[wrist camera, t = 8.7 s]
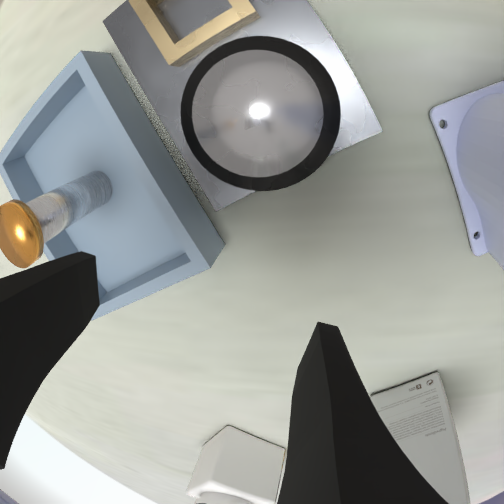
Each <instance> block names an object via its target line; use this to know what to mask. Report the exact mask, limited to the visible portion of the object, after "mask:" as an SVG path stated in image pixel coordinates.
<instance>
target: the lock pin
mask: <svg viewBox="0 0 504 504" xmlns="http://www.w3.org/2000/svg"><path fill="white" fill-rule="evenodd" d="M112 193H113V188H112V184H111V181H110V179H109V178H108V176H107V175H106V174H104V173H103V172H101V171H93V172H90V173H88V174H86V175H84V176H81V177H79V178H77V179H75V180H72V181H70V182H68V183H66V184H64V185H62V186H60V187H57V188H55V189H53V190H51V191H49V192H47V193H45V194H43V195H41V196H39V197H37V198H35V199H33V200H31V201H29V202H27V203H24V202H22V201H20V200H17V199H14V200H11V201H9V202H7V203H5V204H3V205H1V206H0V248H1V250H2V252H3V253H4V255H5V256H6V257H7V259H8V260H9V261H10V262H11V263H13V264H14V265H15V266H17V267H20V268H27V267H28V266H30V265H31V264H32V263H34V262H35V261H36V260H38V259H39V258H40V257H41V255H42V253H43V249H44V243H46V242H47V241H49V240H50V239H51V238H53V237H54V236H56V235H57V234H59V233H60V232H62V231H63V230H65V229H66V228H68V227H70V226H71V225H73V224H74V223H76V222H77V221H79V220H80V219H82V218H84V217H85V216H87V215H88V214H90V213H92V212H93V211H95V210H97V209H98V208H100V207H101V206H103V205H105V204H106V203H108V202H109V201H110V199H111V197H112Z"/></svg>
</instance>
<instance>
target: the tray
mask: <svg viewBox="0 0 504 504" xmlns="http://www.w3.org/2000/svg"><path fill="white" fill-rule="evenodd" d="M93 171H101V172H103V173H104V174H106V175H107V176H108V178H109V179H110V181H111V184H112V188H113V193H112V197H111V199H110V201H109V202H108V203H106V204H105V205H103V206H101V207H100V208H98V209H97V210H95V211H93V212H92V213H90V214H88V215H87V216H85V217H84V218H82V219H80V220H79V221H77V222H76V223H74V224H73V225H71V226H70V227H68V228H66V229H65V230H63V231H62V232H60V233H59V234H57V235H56V236H54V237H53V238H51V239H50V240H49V241H47V242H46V243H44V249H43V252H44V253H45V255H46V257H47V258H48V260H49V261H52V260H54V259H57V258H60V257H63V256H66V255H69V254H72V253H76V252H80V251H83V252H86V253H89V254H92V255H95V256H96V267H97V280H98V291H99V301H100V306H99V307H98V309H97V311H96V312H95V314H94V316H93V317H92V319H91V320H94V319H96V318H99V317H101V316H103V315H105V314H108V313H110V312H112V311H114V310H117V309H119V308H121V307H123V306H126V305H128V304H130V303H133V302H135V301H137V300H139V299H142V298H144V297H146V296H148V295H151V294H153V293H155V292H157V291H160V290H162V289H164V288H166V287H169V286H171V285H173V284H175V283H178V282H180V281H182V280H184V279H187V278H189V277H191V276H194V275H196V274H198V273H200V272H203V271H205V270H207V269H209V268H211V266H212V265H213V263H214V262H215V260H216V258H217V257H218V255H219V254H220V252H221V251H222V249H223V247H224V246H225V244H224V242H223V241H222V239H221V237H220V236H219V234H218V232H217V231H216V229H215V228H214V226H213V224H212V223H211V221H210V220H209V218H208V216H207V215H206V213H205V211H204V210H203V208H202V206H201V205H200V203H199V202H198V200H197V198H196V197H195V195H194V193H193V192H192V190H191V188H190V187H189V185H188V184H187V182H186V180H185V179H184V177H183V175H182V174H181V172H180V170H179V169H178V167H177V165H176V164H175V162H174V160H173V159H172V157H171V155H170V154H169V152H168V150H167V149H166V147H165V145H164V144H163V142H162V140H161V139H160V137H159V135H158V134H157V132H156V130H155V129H154V127H153V125H152V124H151V122H150V120H149V119H148V117H147V115H146V114H145V112H144V110H143V108H142V107H141V105H140V103H139V102H138V100H137V98H136V97H135V95H134V93H133V91H132V90H131V88H130V86H129V85H128V83H127V81H126V79H125V78H124V76H123V74H122V73H121V71H120V69H119V67H118V66H117V64H116V62H115V60H114V59H113V57H112V55H111V54H110V53H102V52H92V51H80V52H79V53H78V54H77V55H76V56H75V57H74V58H73V59H72V60H71V61H70V62H69V64H68V65H67V66H66V67H65V68H64V69H63V70H62V71H61V72H60V73H59V75H58V76H57V77H56V78H55V79H54V80H53V82H52V83H51V84H50V85H49V86H48V87H47V89H46V90H45V91H44V92H43V94H42V95H41V96H40V97H39V99H38V100H37V101H36V102H35V104H34V105H33V106H32V108H31V109H30V110H29V112H28V113H27V114H26V116H25V117H24V118H23V120H22V121H21V123H20V124H19V125H18V127H17V128H16V130H15V131H14V133H13V134H12V135H11V137H10V138H9V140H8V141H7V143H6V145H5V146H4V148H3V149H2V151H1V152H0V174H1V176H2V178H3V180H4V182H5V184H6V186H7V188H8V190H9V192H10V194H11V196H12V198H13V200H14V199H17V200H20V201H22V202H24V203H27V202H29V201H31V200H33V199H35V198H37V197H39V196H41V195H43V194H45V193H47V192H49V191H51V190H53V189H55V188H57V187H60V186H62V185H64V184H66V183H68V182H70V181H72V180H75V179H77V178H79V177H81V176H84V175H86V174H88V173H90V172H93Z"/></svg>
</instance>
